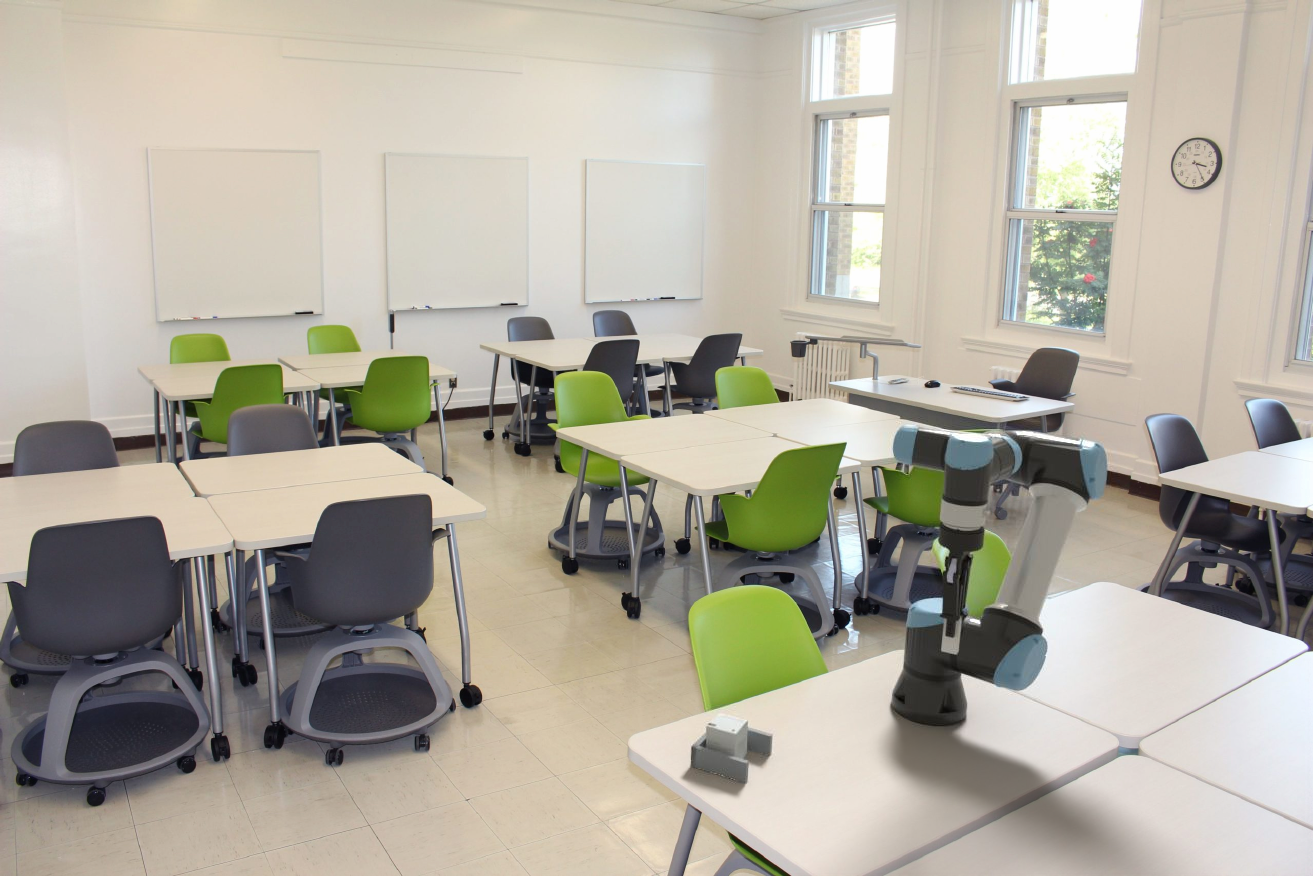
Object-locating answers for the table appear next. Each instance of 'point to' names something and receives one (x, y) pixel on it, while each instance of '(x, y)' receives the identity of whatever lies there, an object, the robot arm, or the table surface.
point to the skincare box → (727, 735)
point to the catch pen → (728, 763)
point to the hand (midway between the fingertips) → (949, 651)
